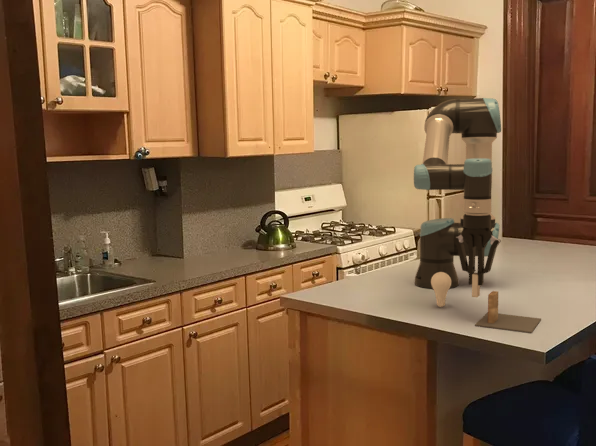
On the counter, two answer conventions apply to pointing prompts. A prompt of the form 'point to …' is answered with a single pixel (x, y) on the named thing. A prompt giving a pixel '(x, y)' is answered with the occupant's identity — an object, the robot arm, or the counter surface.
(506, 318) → the mat
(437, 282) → the lightbulb
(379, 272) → the counter surface
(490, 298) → the wooden block
